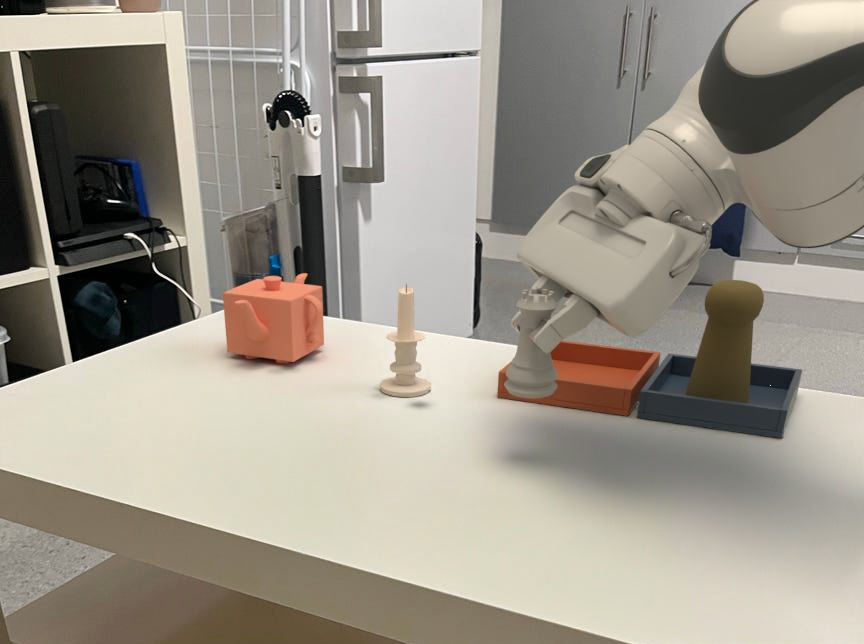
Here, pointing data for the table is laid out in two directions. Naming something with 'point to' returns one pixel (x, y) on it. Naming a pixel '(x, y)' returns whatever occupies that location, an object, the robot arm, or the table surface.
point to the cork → (727, 342)
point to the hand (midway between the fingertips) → (527, 338)
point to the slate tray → (757, 417)
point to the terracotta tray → (594, 377)
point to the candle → (405, 352)
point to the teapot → (274, 319)
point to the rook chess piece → (532, 350)
